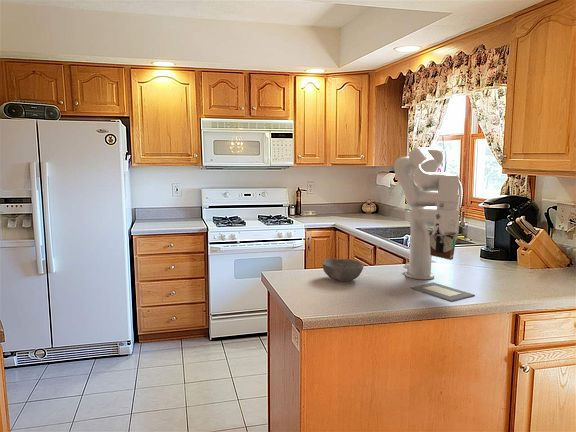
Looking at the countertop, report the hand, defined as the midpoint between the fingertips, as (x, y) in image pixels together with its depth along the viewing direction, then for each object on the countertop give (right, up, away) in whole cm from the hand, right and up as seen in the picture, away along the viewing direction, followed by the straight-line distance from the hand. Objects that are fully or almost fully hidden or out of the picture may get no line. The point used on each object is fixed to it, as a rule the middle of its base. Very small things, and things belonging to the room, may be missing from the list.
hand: (444, 251), depth 182 cm
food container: (0, -2, +1) cm, 3 cm away
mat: (0, -16, +2) cm, 17 cm away
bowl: (-38, -14, +18) cm, 44 cm away
